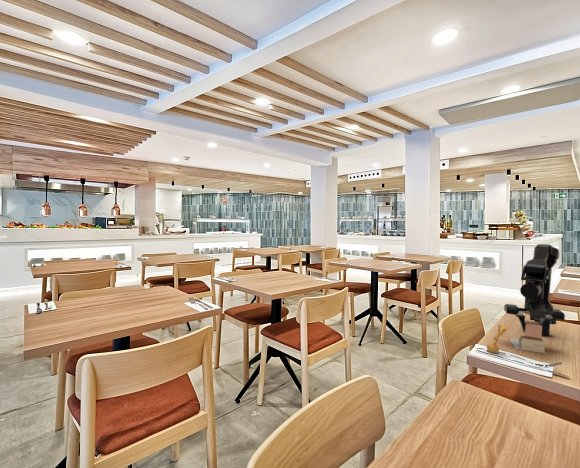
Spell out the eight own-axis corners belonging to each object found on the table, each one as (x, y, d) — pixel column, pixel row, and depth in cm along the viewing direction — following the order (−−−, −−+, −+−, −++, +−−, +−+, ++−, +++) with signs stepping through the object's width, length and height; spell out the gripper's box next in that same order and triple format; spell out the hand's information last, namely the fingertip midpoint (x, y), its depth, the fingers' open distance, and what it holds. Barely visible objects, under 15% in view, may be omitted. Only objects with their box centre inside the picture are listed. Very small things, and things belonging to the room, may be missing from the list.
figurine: (488, 348, 129) (490, 319, 128) (506, 352, 125) (508, 322, 124) (484, 355, 122) (486, 324, 122) (503, 359, 118) (504, 328, 118)
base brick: (518, 343, 133) (518, 333, 133) (539, 346, 130) (539, 336, 130) (522, 349, 127) (523, 339, 127) (544, 352, 124) (545, 342, 124)
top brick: (522, 332, 132) (523, 320, 131) (537, 334, 130) (538, 322, 129) (525, 336, 127) (526, 323, 127) (541, 338, 125) (542, 325, 125)
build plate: (508, 339, 138) (509, 338, 138) (537, 343, 134) (537, 342, 134) (515, 350, 127) (515, 348, 127) (546, 354, 123) (546, 353, 123)
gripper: (510, 296, 124) (508, 335, 125) (571, 302, 116) (569, 344, 117) (504, 290, 134) (502, 326, 135) (560, 295, 126) (558, 333, 127)
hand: (531, 332), depth 128 cm, fingers closed on top brick, 5 cm apart
